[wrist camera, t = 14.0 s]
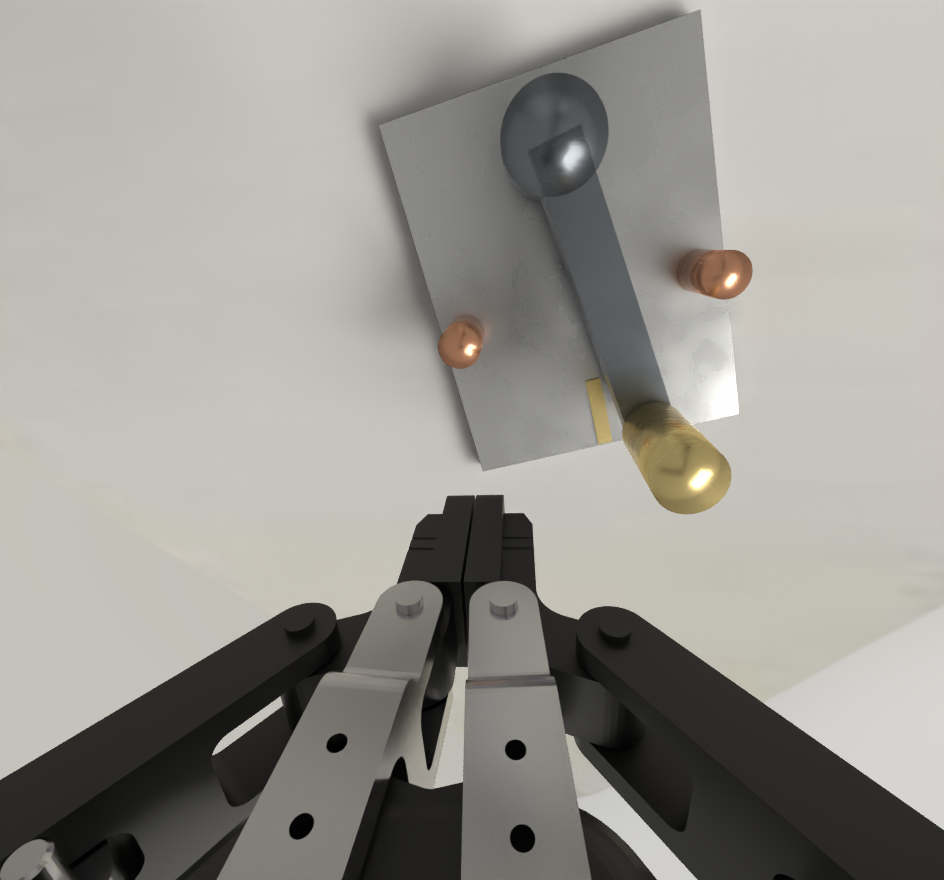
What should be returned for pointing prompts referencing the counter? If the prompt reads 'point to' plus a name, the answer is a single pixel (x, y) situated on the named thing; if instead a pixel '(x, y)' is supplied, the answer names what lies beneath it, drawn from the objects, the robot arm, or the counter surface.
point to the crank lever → (605, 283)
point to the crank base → (539, 261)
